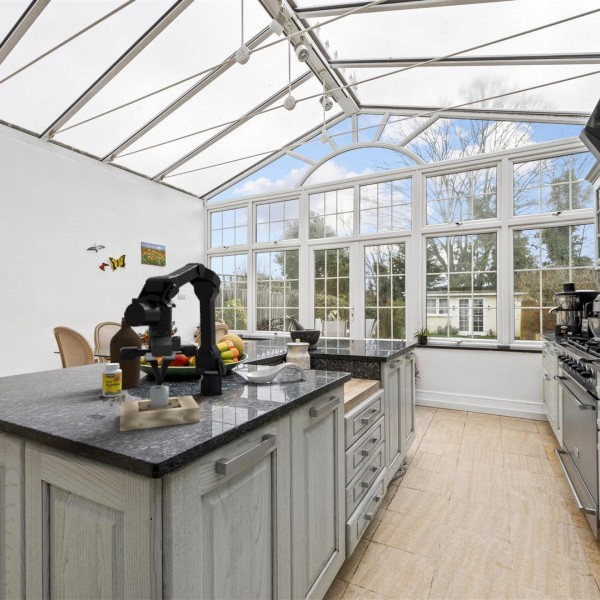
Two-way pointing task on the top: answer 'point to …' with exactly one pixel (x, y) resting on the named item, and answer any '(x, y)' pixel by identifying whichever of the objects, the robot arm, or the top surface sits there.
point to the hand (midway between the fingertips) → (159, 385)
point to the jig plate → (158, 413)
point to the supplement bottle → (112, 380)
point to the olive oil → (128, 367)
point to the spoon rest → (272, 373)
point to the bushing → (159, 396)
